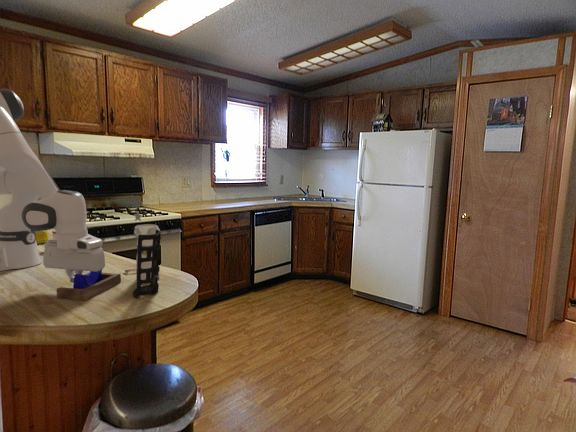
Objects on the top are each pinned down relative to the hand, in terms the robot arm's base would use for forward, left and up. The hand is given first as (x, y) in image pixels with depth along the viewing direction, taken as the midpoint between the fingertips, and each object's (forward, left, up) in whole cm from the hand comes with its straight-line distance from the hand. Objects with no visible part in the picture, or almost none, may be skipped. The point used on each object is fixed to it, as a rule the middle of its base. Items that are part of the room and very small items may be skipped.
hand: (75, 282), depth 125 cm
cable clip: (+2, +2, -2) cm, 4 cm away
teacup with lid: (-46, +49, -3) cm, 67 cm away
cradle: (+5, +1, -2) cm, 5 cm away
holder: (+25, +3, -3) cm, 25 cm away
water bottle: (+18, +15, -3) cm, 23 cm away
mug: (-66, +56, -3) cm, 87 cm away
